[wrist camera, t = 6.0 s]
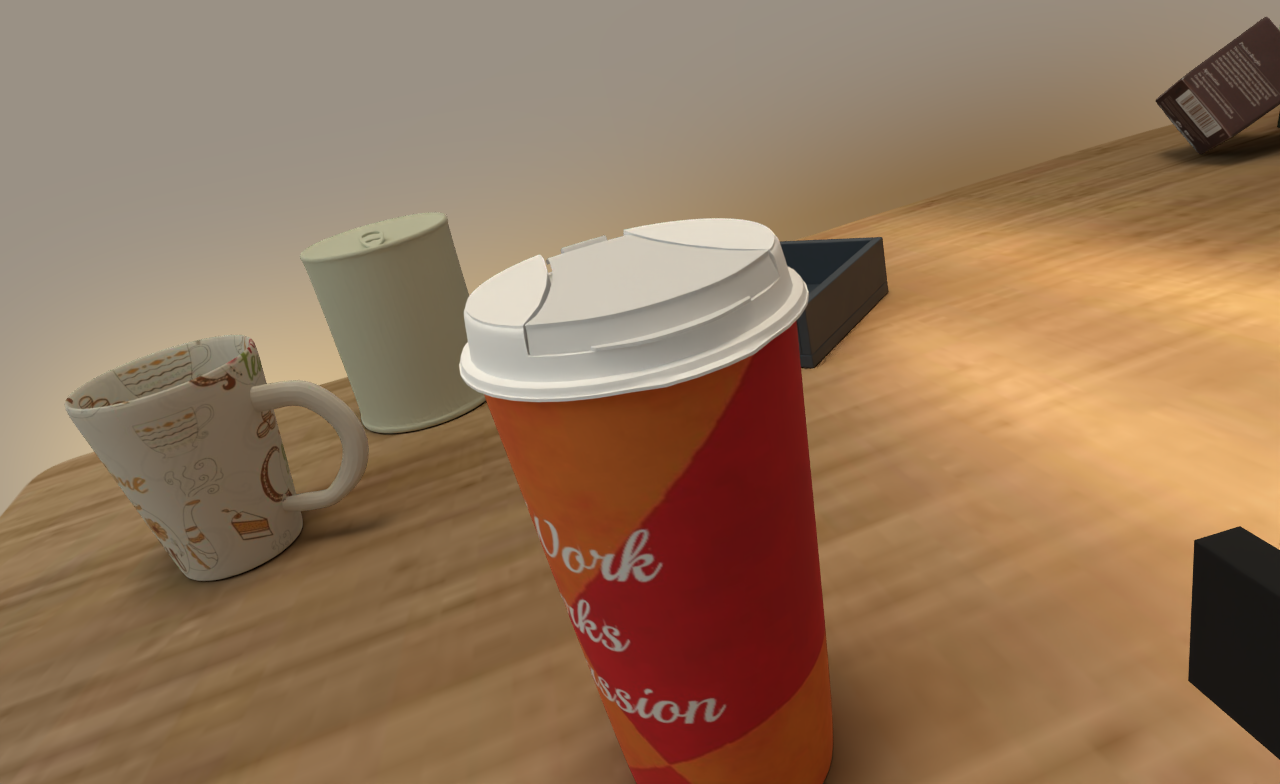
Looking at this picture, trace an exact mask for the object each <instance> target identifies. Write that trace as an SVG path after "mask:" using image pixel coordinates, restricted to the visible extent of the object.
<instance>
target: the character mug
mask: <svg viewBox="0 0 1280 784" xmlns="http://www.w3.org/2000/svg"><path fill="white" fill-rule="evenodd" d="M1279 30H1280V26H1279ZM1277 127H1278V128H1280V113H1279V119H1278V125H1277Z"/></svg>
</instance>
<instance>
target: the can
mask: <svg viewBox="0 0 1280 784" xmlns="http://www.w3.org/2000/svg"><path fill="white" fill-rule="evenodd" d="M300 259H301V260H302V261H303V264H304V266H305V268H306V270H307V273H308V275H309V277H310V280H311V282H312V285H313V287H314V290H315V293H316V295H317V298H318V300H319V302H320V305H321V308H322V310H323V313H324V315H325V318H326V320H327V323H328V326H329V328H330V331H331V334H332V336H333V338H334V341H335V344H336V347H337V349H338V352H339V354H340V357H341V360H342V362H343V365H344V367H345V370H346V372H347V375H348V378H349V381H350V384H351V386H352V389H353V392H354V395H355V397H356V400H357V403H358V406H359V409H360V413H361V420H362V423H363V425H364V426H365V427H366V428H367V429H369V430H371V431H374V432H378V433H402V432H409V431H415V430H420V429H424V428H428V427H431V426H435V425H438V424H441V423H444V422H446V421H449V420H452V419H454V418H456V417H459V416H461V415H463V414H465V413H467V412H469V411H470V410H472V409H474V408H476V407H477V406H479V405H480V404H482V403H483V402H484V401H486V399H485V396H484V394H483V393H480V392H477V391H476V390H474V389H473V388H471V387H470V386H468V385H467V384H466V383H465V381H464V380H463V379H462V377H461V375H460V368H459V364H460V358H461V354H462V351H463V348H464V346H465V345H466V343H467V342H468V339H467V333H466V327H465V320H464V309H465V307H466V302H467V299H468V297H469V294H468V290H467V287H466V284H465V280H464V277H463V274H462V271H461V267H460V264H459V260H458V257H457V254H456V250H455V247H454V243H453V240H452V236H451V233H450V229H449V225H448V219H447V216H446V215H445V214H443V213H421V214H414V215H408V216H403V217H398V218H394V219H389V220H385V221H381V222H377V223H373V224H370V225H366V226H363V227H359V228H356V229H353V230H349V231H347V232H344V233H341V234H338V235H335V236H332V237H330V238H327V239H325V240H323V241H320V242H318V243H316V244H314V245H312V246H310V247H308V248H307V249H306V250H304V251H303V252H302V253H301V255H300Z"/></svg>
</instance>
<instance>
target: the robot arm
mask: <svg viewBox="0 0 1280 784" xmlns="http://www.w3.org/2000/svg"><path fill="white" fill-rule="evenodd" d="M1188 681H1189V682H1190V683H1192V684H1193V685H1194V686H1195V687H1196V688H1197V689H1199V690H1200V691H1201V692H1202V693H1203V694H1204V695H1205V696H1207V697H1208V698H1209V699H1210V700H1211V701H1212V702H1214V703H1215V704H1216V705H1217V706H1218V707H1219V708H1220V709H1222V710H1223V711H1224V712H1225V713H1226V714H1227V715H1229V716H1230V717H1231V718H1232V719H1233V720H1234V721H1236V722H1237V723H1238V724H1239V725H1240V726H1241V727H1242V728H1244V729H1245V730H1246V731H1247V732H1248V733H1249V734H1251V735H1252V736H1253V737H1254V738H1255V739H1256V740H1258V741H1259V742H1260V743H1261V744H1262V745H1263V746H1264V747H1266V748H1267V749H1268V750H1269V751H1270V752H1271V753H1273V754H1274V755H1275V756H1276V757H1277V758H1278V759H1280V550H1278V549H1277V548H1275V547H1273V546H1272V545H1270V544H1268V543H1267V542H1265V541H1264V540H1262V539H1260V538H1259V537H1257V536H1255V535H1254V534H1252V533H1250V532H1249V531H1247V530H1245V529H1244V528H1242V527H1240V526H1239V527H1236V528H1233V529H1230V530H1226V531H1223V532H1220V533H1217V534H1213V535H1210V536H1207V537H1204V538H1200V539H1197V540H1194V562H1193V585H1192V608H1191V632H1190V655H1189V678H1188Z"/></svg>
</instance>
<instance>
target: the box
mask: <svg viewBox="0 0 1280 784" xmlns="http://www.w3.org/2000/svg"><path fill="white" fill-rule="evenodd" d="M1156 102H1157V104H1158V105H1159V107H1160V108H1161V109H1162V110H1163V111H1164V113H1165V114H1166V115H1167V117H1168V118H1169V119H1170V120H1171V122H1172V123H1173V124H1174V125H1175V126H1176V128H1177V129H1178V130H1179V131H1180V132H1181V134H1182V135H1183V136H1184V137H1185V138H1186V140H1187V141H1188V142H1189V143H1190V144H1191V146H1193V148H1194V149H1195V150H1196V151H1197V152H1198V153H1199V154H1204V153H1206V152H1207V151H1209V150H1211V149H1213V148H1215V147H1216V146H1218V145H1220V144H1221V143H1223V142H1225V141H1227V140H1228V139H1230V138H1232V137H1234V136H1235V135H1236V134H1238V133H1239V132H1241V131H1242V130H1244V129H1245V128H1247V127H1248V126H1250V125H1251V124H1252V123H1254V122H1255V121H1257V120H1258V119H1259V118H1261V117H1262V116H1264V115H1265V114H1266V113H1268V112H1269V111H1271V110H1272V109H1274V108H1275V107H1276V106H1278V105H1279V104H1280V30H1279V29H1278V28H1277V27H1276V26H1275V25H1274V24H1273V23H1272V21H1271V20H1270V19H1269V18H1268V17H1265V18H1263V19H1261V20H1260V21H1259V22H1257V23H1256V24H1255V25H1254V26H1252V27H1251V28H1249V29H1248V30H1246V31H1245V32H1244V33H1242V34H1241V35H1240V36H1239V37H1237V38H1236V39H1234V40H1233V41H1232V42H1230V43H1229V44H1227V45H1226V46H1225V47H1224V48H1222V49H1220V50H1219V51H1218V52H1216V53H1215V54H1214V55H1212V56H1211V57H1209V58H1208V59H1207V60H1205V61H1204V62H1202V63H1201V64H1200V65H1198V66H1197V67H1196V68H1194V69H1193V70H1192V71H1190V72H1189V73H1188V74H1186V75H1185V76H1184V77H1183V78H1181V79H1180V80H1179V81H1178V82H1176V83H1175V84H1174V85H1173V86H1172V87H1170V88H1169V89H1168V90H1167V91H1165V92H1164V93H1163V94H1162V95H1160V96H1159V97H1158V98H1157V99H1156Z"/></svg>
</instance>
